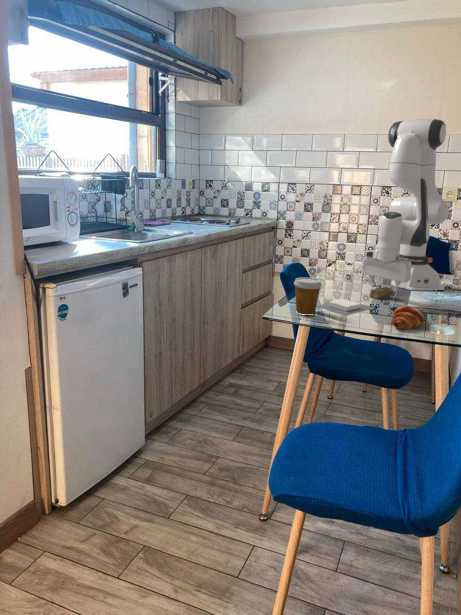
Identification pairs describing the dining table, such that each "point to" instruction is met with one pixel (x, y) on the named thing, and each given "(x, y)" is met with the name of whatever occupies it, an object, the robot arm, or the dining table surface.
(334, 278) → the dining table surface
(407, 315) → the croissant
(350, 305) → the tile
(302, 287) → the disposable coffee cup
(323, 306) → the slate board
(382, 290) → the wooden handled scraper
